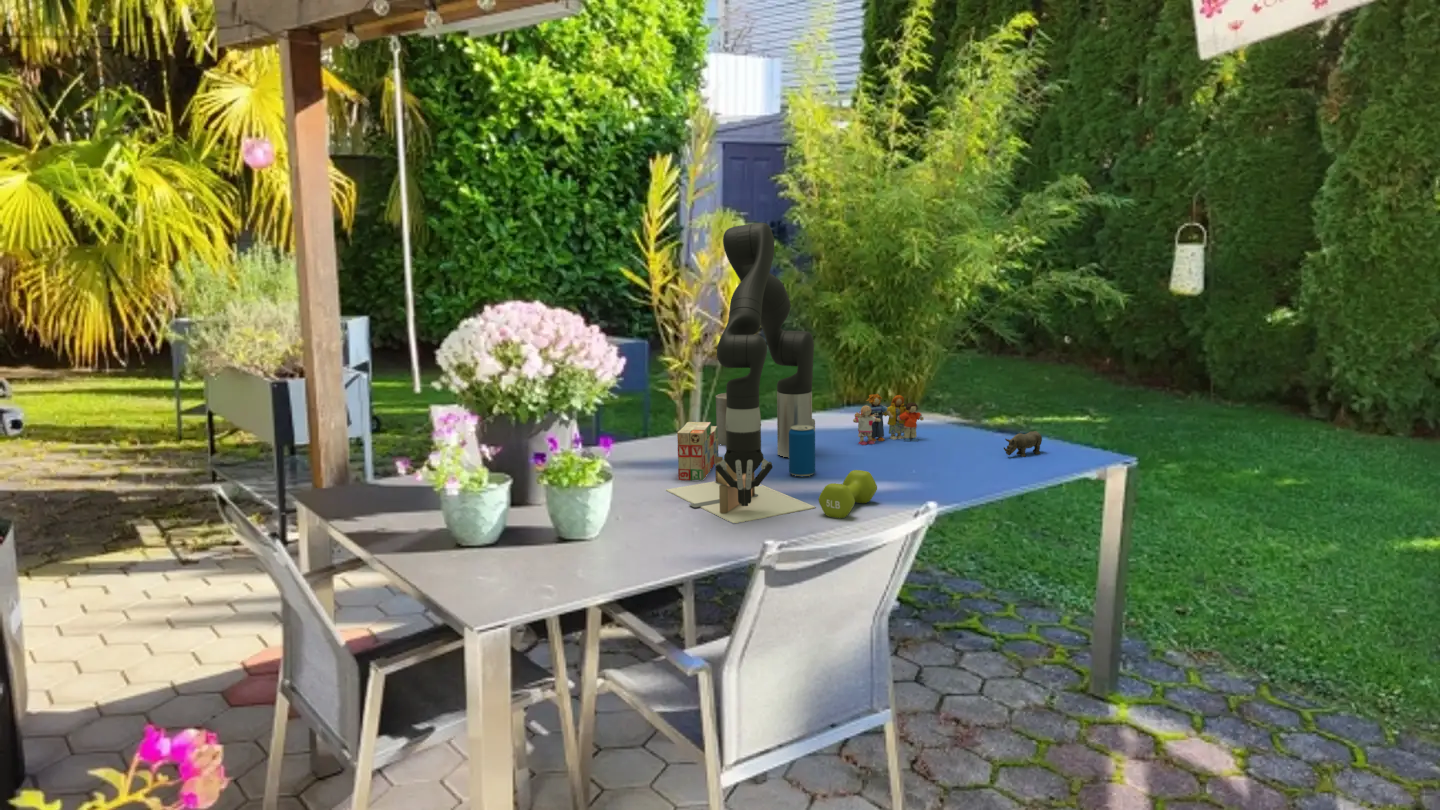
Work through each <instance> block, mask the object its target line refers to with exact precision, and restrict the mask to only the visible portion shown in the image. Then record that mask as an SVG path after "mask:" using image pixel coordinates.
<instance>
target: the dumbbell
mask: <svg viewBox="0 0 1440 810" xmlns="http://www.w3.org/2000/svg"><path fill="white" fill-rule="evenodd" d="M877 491H878V485H877V483H876V481H875V479H874V476H873V475H872V473H870V472H869V471H868V470H867V471H866V470H860V469H853V470H851V471H850V472H849V473H848V474H847V475H846V476H845V478H844V481H843V482H842V483H837V482H835V483H833V482H832V483H827V484H826V485H825V486H824V488H823V489H822V491H821V493H820V495H819V496H818V499H817V500H818V503H819V506H820V508H821V510H822V511H823V514H824V515H825V516H827V517H829V518H835V519H844V518H846V517H848V515H849V514H850V512H851V511H852V509H853V507H854V506H855V502H856V503H857V504H867V502H868V503H869V502H870V501H871V500H872V499H873V497H874V496H875V494H876V492H877Z"/></svg>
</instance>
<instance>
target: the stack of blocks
mask: <svg viewBox="0 0 1440 810" xmlns="http://www.w3.org/2000/svg"><path fill="white" fill-rule="evenodd" d="M676 436H677V461H678V462H677V464H678V465H677V466H678V467H677V468H678V469H677V471H678V475H677V477H678V481H692V480H703V479H704V478H705V477H706V475H707V474H708V473H709V472H710V473H711V471H710V469H711V468H712V467H713V468H714V466H715V465H714V464H715V457H719V444H718V432H717V425H716V426H714V425H712V422H711V421H709V422H708V421H687V422H686V423H685V424H684V426H683V427H682V428H680V429H679V430H678V431H677V435H676ZM713 465H714V466H713ZM713 468H712V469H713ZM712 469H711V470H712ZM710 473H709V474H710ZM709 474H708V475H709ZM708 475H707V476H708ZM706 478H707V477H706ZM706 478H705V479H706ZM705 479H704V480H705ZM704 480H703V481H704Z"/></svg>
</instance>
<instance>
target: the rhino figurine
mask: <svg viewBox="0 0 1440 810" xmlns="http://www.w3.org/2000/svg"><path fill="white" fill-rule="evenodd" d="M1004 440H1005V441H1006V442H1008V445H1006V448H1005V447H1004V446H1003V450H1004V451H1005V453H1006V455H1007V456H1010V455H1012V454H1013V453H1014V452H1015V451H1016V450H1017V452H1016V453H1015V454H1016V455H1019V457H1022V458H1025V457H1026V456H1027V455H1026V450H1027V449H1031V448H1033V449H1032V452H1033V454H1035V455H1041V454H1040V453H1041V452H1040V449H1041V444H1042V441H1043V436H1042V435H1041V433H1039V432H1038V431H1036V430H1035V431H1029V432H1028V433H1025V434H1024V433H1020V432H1019V433H1017V434H1016V435H1014V436H1013V437H1011V438H1010V439H1008V438H1006V437H1005V438H1004Z"/></svg>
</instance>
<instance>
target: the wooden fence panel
mask: <svg viewBox="0 0 1440 810" xmlns="http://www.w3.org/2000/svg"><path fill="white" fill-rule="evenodd" d="M723 459H724V456H718V457H715V465H716V463H719V462H721V461H722V460H723ZM715 465H714V466H715ZM726 466H727V469H726V471H727V472H728V473H729V474H730V476H731V477H732V478H733V479H734V480H736V479H737V475H736V473H734V472H733V471H732V469H731V468H730V467H729V466H728V464H727V463H726ZM714 468H715V467H714ZM744 474H745V473H743V474H742V476H743V475H744ZM755 477H756V476H755V472H753V473H752V480H754V479H755ZM715 481H716V482H718V483H720V484H723V485H727V484H728V483H727V482H726V481H725V480H724V478H723V477H722V476H721V475H720V474H719V473H718V471H717V470H716V468H715ZM752 496H755V487H753V488H752Z"/></svg>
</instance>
